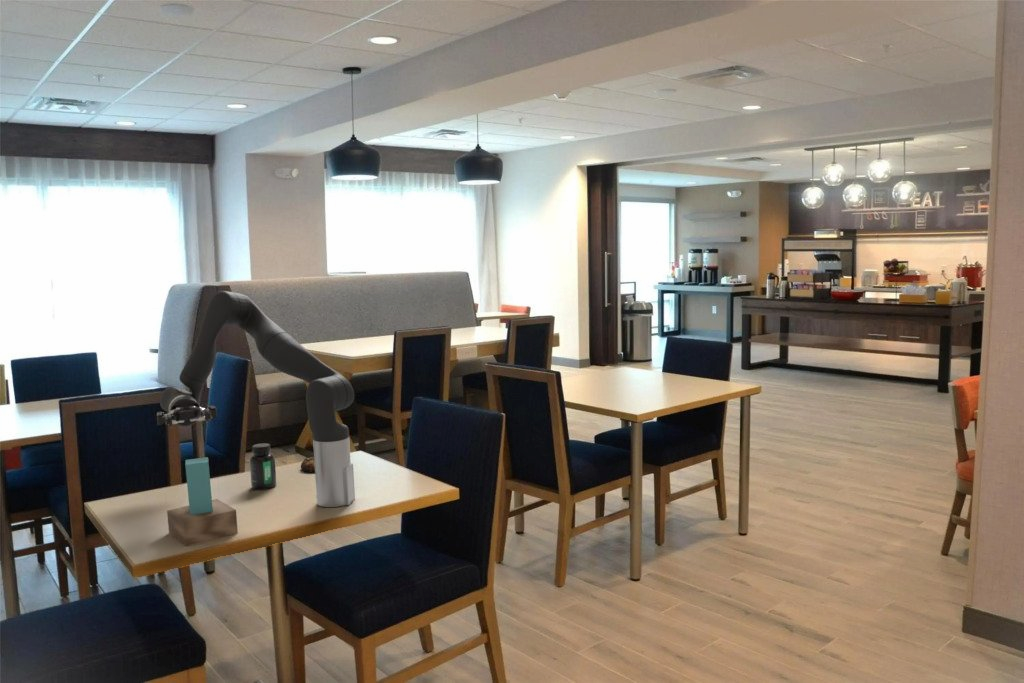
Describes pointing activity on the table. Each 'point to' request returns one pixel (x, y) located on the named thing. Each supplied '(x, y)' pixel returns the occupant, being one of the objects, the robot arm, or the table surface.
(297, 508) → the table surface
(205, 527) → the walnut block
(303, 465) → the bread roll
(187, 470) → the teal post
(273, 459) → the supplement bottle
